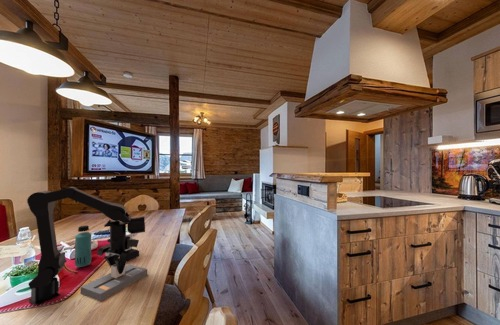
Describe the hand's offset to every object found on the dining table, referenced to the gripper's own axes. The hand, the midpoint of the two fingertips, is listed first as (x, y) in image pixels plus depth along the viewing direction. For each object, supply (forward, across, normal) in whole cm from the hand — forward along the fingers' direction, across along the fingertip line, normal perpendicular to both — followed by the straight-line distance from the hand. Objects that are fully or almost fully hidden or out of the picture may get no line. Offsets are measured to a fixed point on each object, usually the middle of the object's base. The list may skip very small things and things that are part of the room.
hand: (118, 272), depth 87 cm
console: (+4, 0, +1) cm, 4 cm away
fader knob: (+2, 0, 0) cm, 2 cm away
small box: (+4, +21, -16) cm, 27 cm away
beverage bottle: (+4, +29, -2) cm, 29 cm away
